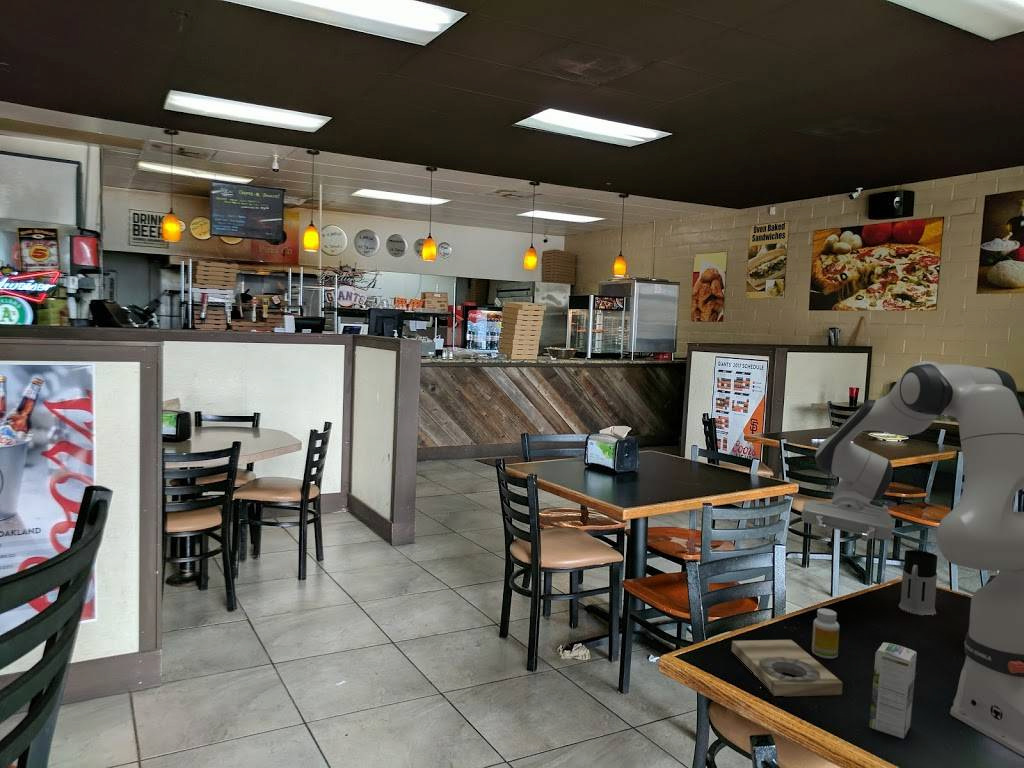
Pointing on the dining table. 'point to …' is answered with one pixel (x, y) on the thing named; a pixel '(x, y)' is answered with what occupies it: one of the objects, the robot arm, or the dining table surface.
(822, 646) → the supplement bottle
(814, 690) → the plate
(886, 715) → the syrup box
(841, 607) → the dining table surface
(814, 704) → the dining table surface
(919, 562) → the glass holder
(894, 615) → the dining table surface
